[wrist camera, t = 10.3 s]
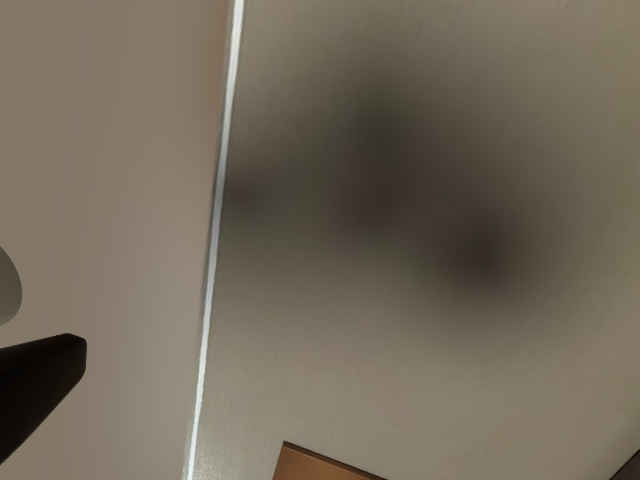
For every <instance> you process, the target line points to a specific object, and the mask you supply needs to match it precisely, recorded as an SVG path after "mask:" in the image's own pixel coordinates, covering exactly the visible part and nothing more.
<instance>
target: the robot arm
mask: <svg viewBox="0 0 640 480" xmlns="http://www.w3.org/2000/svg"><path fill="white" fill-rule="evenodd" d="M86 355H87V343H86V340H85V339H84V338H81V337H78V336H75V335H73V334H69V333H65V334H61V335H56V336H52V337H48V338H44V339H40V340H35V341H31V342H27V343H22V344H19V345H14V346H10V347H5V348H1V349H0V465H1V464H2V463H3V462H4V461H5V460H6V459H7V458H8V457H9V456H10V455H11V454H12V453H13V452H15V451H16V449H18V448H19V446H21V445H22V443H24V442H25V440H26V439H27V438H28V437H29V436H30V435H31V434H32V433H33V432H34V431H35V430H36V429H37V428H38V426H39V425H40V424H41V423H42V422H43V421H44V420H45V419H46V417H48V415H49V414H50V413H51V412H52V411H53V410H54V409H55V408H56V407H57V405H58V404H59V403H60V402H61V401H62V400H63V399H64V398H65V397H66V395H67V394H68V393H69V392H70V391H71V390H72V389H73V388H74V387H75V386H76V384H77V383H78V382H79V381H80V380H81V378H82V376H83V375H84V372H85V369H86Z"/></svg>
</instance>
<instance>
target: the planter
mask: <svg viewBox="0 0 640 480" xmlns="http://www.w3.org/2000/svg"><path fill="white" fill-rule="evenodd" d="M612 480H640V451H639V452H638V453H637V455H636V456H635V457H634V458H633V459H632V460H631V461H630V462H629V463H628V464H627V465H626V466H625V467H624V468H623V469H622V470H621V471H620V472H619V473H618V474H617V475H616V476H615V477H614V478H613V479H612Z"/></svg>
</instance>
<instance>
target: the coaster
mask: <svg viewBox="0 0 640 480" xmlns="http://www.w3.org/2000/svg"><path fill="white" fill-rule="evenodd" d="M273 480H384V479H382V478H379V477H376V476H374V475H371V474H368V473H366V472H363V471H360V470H358V469H355V468H352V467H350V466H347V465H345V464H342V463H339V462H337V461H334V460H331V459H329V458H326V457H323V456H321V455H318V454H316V453H313V452H310V451H308V450H305V449H302V448H300V447H297V446H294V445H292V444H289V443H287V442H283V445H282V448H281V452H280V455H279V459H278V462H277V466H276V469H275V473H274V476H273Z"/></svg>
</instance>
